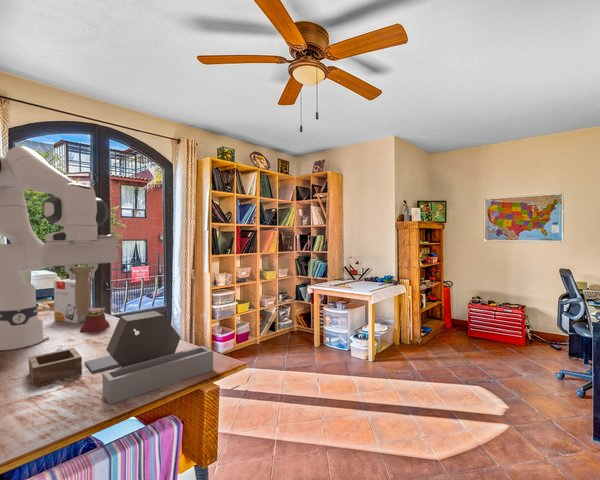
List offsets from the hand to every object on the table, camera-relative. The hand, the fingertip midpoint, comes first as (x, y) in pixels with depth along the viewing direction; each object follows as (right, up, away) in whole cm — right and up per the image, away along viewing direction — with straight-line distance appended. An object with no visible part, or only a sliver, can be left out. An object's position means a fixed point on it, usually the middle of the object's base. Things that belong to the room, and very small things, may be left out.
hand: (82, 278), depth 101 cm
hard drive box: (-44, -28, +58) cm, 78 cm away
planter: (+21, -29, -2) cm, 35 cm away
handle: (0, -12, 0) cm, 12 cm away
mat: (+5, -28, +4) cm, 29 cm away
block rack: (+29, -29, -9) cm, 42 cm away
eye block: (-6, -29, -3) cm, 29 cm away
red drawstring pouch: (-23, -28, +42) cm, 56 cm away
